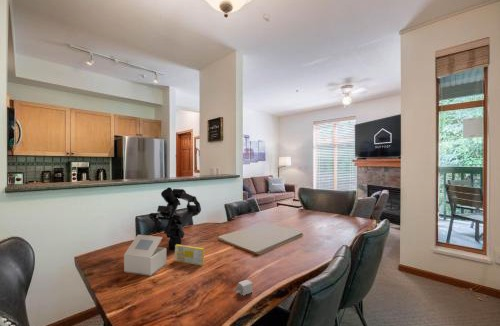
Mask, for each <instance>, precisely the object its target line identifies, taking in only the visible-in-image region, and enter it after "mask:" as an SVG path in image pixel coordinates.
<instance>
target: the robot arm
mask: <svg viewBox="0 0 500 326" xmlns="http://www.w3.org/2000/svg"><path fill="white" fill-rule="evenodd" d="M160 193H161V194H160V195H161V197H162V199H163V200H164V202H166V203H167V204H166V205H158V206H157V211H156V212H150V213H149V215H148V219H150V220H151V222H153V223H154V226H153V227H154V228H153V233H154V234H155V233H157V231H158V230H159V229H160V227H161V225H162V221H168V223H167V225H166V227H165V228H164V231H163V234H165V235H166V238H168V249H169V250H170V251H171V250H172V251H173V250H174V251H175V245H177V244H179V245H182V239H183V238H184V237H185V232H184V230H183V227H185V226H186V224H187V223H188V222H189V221H190V220H191V219H192V218H193V217H196V216H198V215H199V214H200V213H201V212H202V207H201V204H200V202H199V201H198V198H197V197H196V196H194V195H192V194H189V193H187V191H186V190H185V189H183V188H173V189H172V188H171V187H166V188H164V190H162V191H161V192H160ZM180 199H181V200H184V201H186V202H187V204H186V210H187V211H186V212H185V213H184V214H183V215H181V214H177V209H178V207H179V206H181V201H180ZM191 203H193V204H191ZM158 213H160V215H159V214H158Z"/></svg>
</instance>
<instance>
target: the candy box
mask: <svg viewBox="0 0 500 326" xmlns="http://www.w3.org/2000/svg"><path fill="white" fill-rule="evenodd" d="M174 262H179V263H184V264H189V265H196V266H201V267H202V266H204V263H205V248H204V247H198V246H192V245H191V246H190V245H186V244H181V245H179V244H177V245H175V249H174Z"/></svg>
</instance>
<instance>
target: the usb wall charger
mask: <svg viewBox="0 0 500 326" xmlns="http://www.w3.org/2000/svg"><path fill="white" fill-rule="evenodd" d="M253 289H254V288H253V282H252V281H250V279H245V280H242V281H240V282H238V283H237V287H235V288H234V289H233V292H235V291H236V294H240V295H241V296H242V295H243V296H242V297H244V296H246V294H247V295H249V294H252V293H253V291H254V290H253ZM251 292H252V293H251Z"/></svg>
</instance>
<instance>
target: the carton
mask: <svg viewBox="0 0 500 326" xmlns="http://www.w3.org/2000/svg"><path fill="white" fill-rule="evenodd" d="M123 264H124V265H123V272H124V273H127V274H135V275H141V276H142V275H143V276H148V277H151V276H153V275H154V274H156V272H158V271H159V270H160V269H162V268H164V267H165V266H166V265H167V248H166V247H161V246H160V247H158V246H157V248H156V250H155V251H154V253H153V255H152V257H151V258H144V257H136V256H128V255H124V254H123Z"/></svg>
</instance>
